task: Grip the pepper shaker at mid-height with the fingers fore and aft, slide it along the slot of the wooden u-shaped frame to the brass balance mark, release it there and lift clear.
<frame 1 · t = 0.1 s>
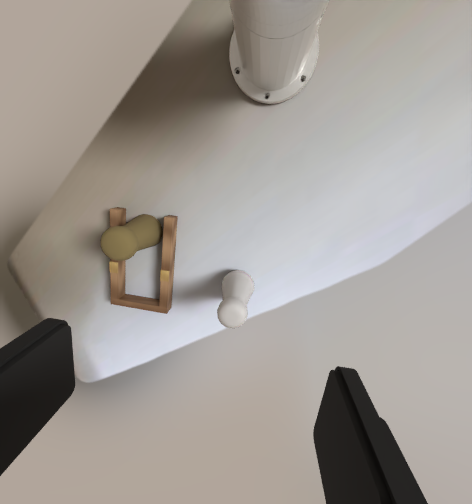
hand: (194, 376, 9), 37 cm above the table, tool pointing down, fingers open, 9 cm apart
pepper shaker: (147, 230, 47), on the table
salt shaker: (239, 280, 48), on the table
wooden u-shaped frame: (145, 256, 48), on the table
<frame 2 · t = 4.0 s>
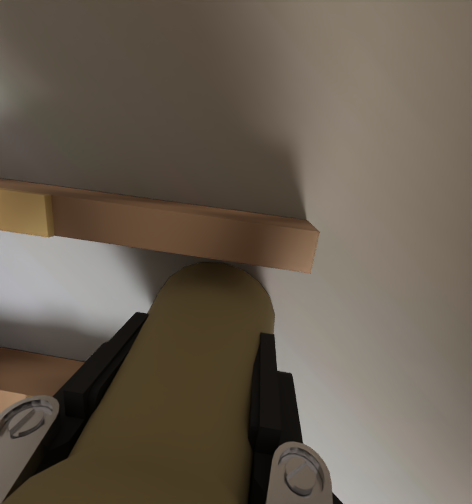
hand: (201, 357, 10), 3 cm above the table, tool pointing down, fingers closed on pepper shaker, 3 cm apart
pepper shaker: (214, 317, 13), on the table, touching gripper
wooden u-shaped frame: (117, 303, 13), on the table
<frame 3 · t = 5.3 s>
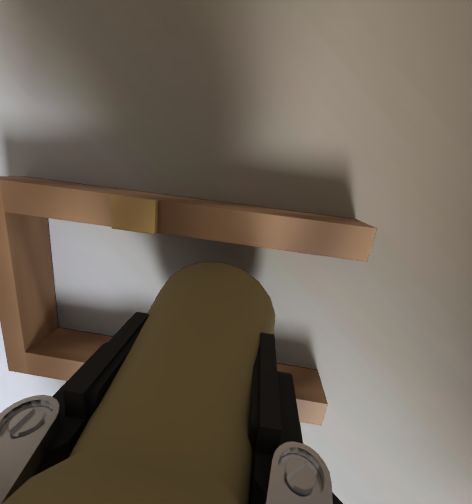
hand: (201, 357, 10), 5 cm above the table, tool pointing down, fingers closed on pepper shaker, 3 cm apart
pepper shaker: (214, 317, 13), point 2 cm above the table, touching gripper
wooden u-shaped frame: (187, 291, 15), on the table
when the fingers open (4 cm above the table, at t = 7.0 s): pepper shaker stays where it is, on the table.
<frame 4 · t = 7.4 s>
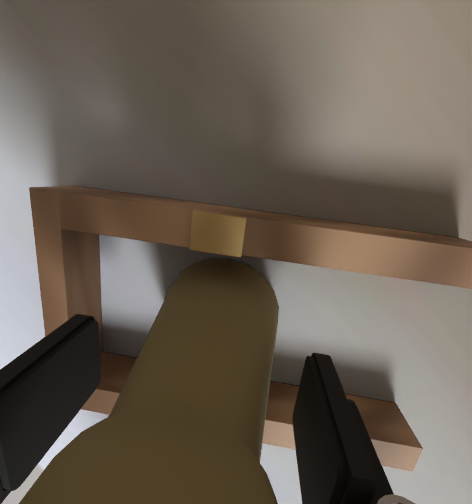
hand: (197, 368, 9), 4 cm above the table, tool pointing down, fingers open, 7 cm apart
pepper shaker: (222, 309, 14), on the table
wooden u-shaped frame: (254, 315, 14), on the table
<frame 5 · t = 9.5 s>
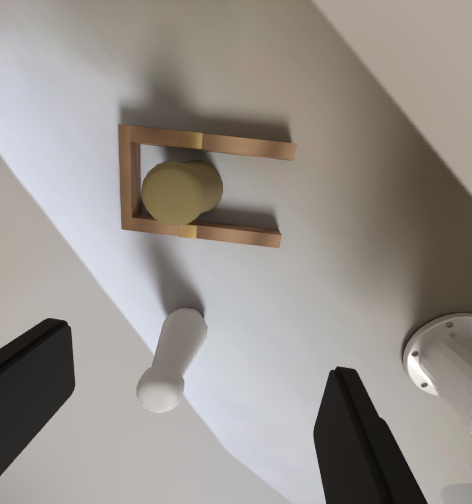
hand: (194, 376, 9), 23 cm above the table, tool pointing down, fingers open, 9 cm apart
pepper shaker: (197, 187, 30), on the table
salt shaker: (189, 319, 36), on the table
wooden u-shaped frame: (212, 188, 30), on the table
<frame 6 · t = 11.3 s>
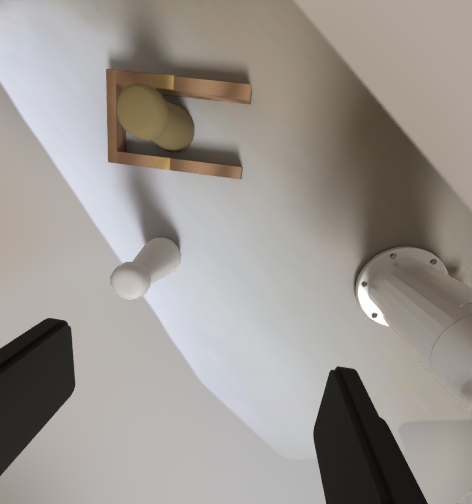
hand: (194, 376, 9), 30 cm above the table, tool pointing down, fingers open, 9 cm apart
pepper shaker: (173, 129, 35), on the table
salt shaker: (167, 251, 41), on the table
wooden u-shaped frame: (185, 129, 35), on the table
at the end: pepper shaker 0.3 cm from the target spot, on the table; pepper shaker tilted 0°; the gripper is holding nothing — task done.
